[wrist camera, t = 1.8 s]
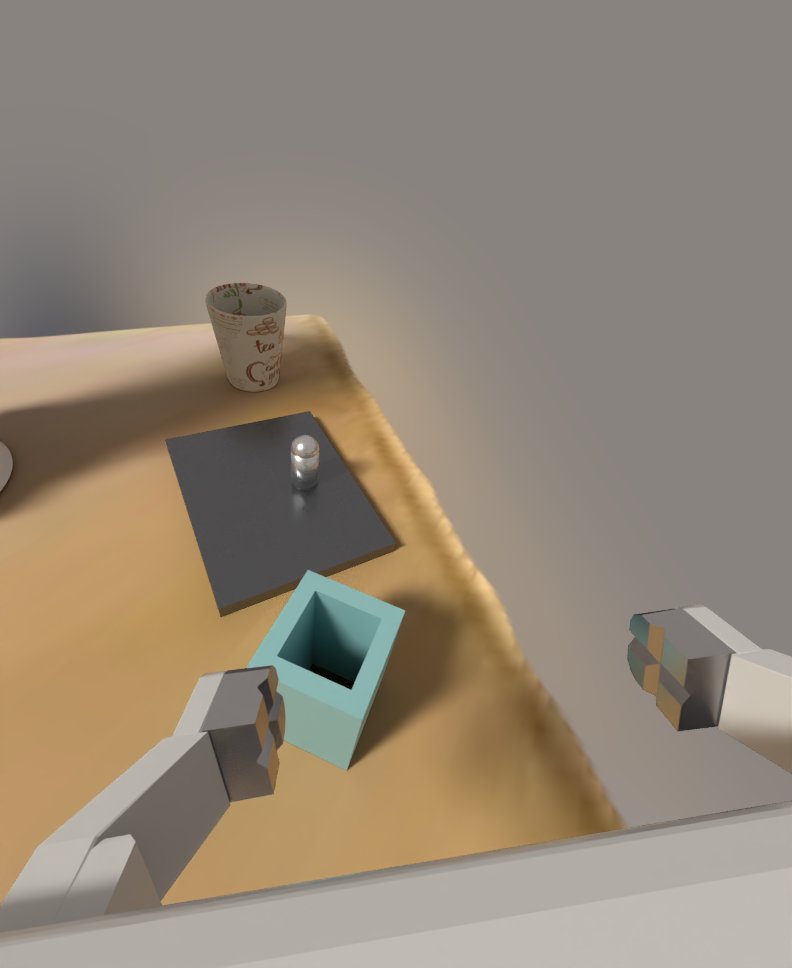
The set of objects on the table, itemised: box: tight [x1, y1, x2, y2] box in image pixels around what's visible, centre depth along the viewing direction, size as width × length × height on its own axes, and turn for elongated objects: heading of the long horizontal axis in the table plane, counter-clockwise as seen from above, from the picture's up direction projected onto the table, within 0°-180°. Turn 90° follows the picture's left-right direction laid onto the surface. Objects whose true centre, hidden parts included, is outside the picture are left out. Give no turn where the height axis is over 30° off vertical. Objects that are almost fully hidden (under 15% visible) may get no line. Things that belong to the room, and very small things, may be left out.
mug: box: [206, 283, 286, 392], centre depth 52 cm, size 8×13×10 cm, turn 33°
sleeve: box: [247, 570, 405, 771], centre depth 26 cm, size 6×6×10 cm
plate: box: [165, 411, 396, 617], centre depth 39 cm, size 15×20×6 cm
